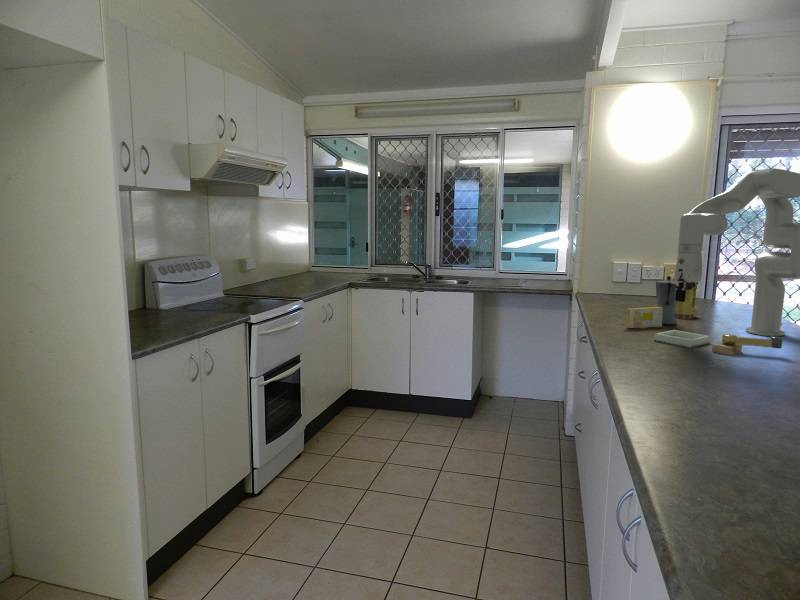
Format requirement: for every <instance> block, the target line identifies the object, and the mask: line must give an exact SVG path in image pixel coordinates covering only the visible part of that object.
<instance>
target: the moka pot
mask: <svg viewBox="0 0 800 600" xmlns="http://www.w3.org/2000/svg"><path fill="white" fill-rule="evenodd" d="M666 278H667V279H665V280H659V281H658V280H657V281H655V291H656V292H655V297H656V301H657V302H656V303H657V304H656V307H663V312H662V325H676V324H677V323H678V322H677V318H675V313H674V310H675V294H676V286H675V282H674V280H671V278H672V276H670V275H668V276H667V277H666Z"/></svg>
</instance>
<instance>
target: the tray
mask: <svg viewBox="0 0 800 600" xmlns="http://www.w3.org/2000/svg"><path fill="white" fill-rule="evenodd" d="M654 340H656V341H655V342H659V341H660V342H659V343H664V342H665V344H670V345H673V346H674V345H675V346H680V347H686V348H695V347H700V346H704V345H708V344H710V340H711V336H710V335H705V334H700V333H694V332H689V331H683V330H677V329H672V330H667V331H662V332H661V331H660V332H658V333H656V332H655V333H654ZM654 340H653V341H654Z"/></svg>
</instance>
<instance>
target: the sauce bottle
mask: <svg viewBox="0 0 800 600" xmlns="http://www.w3.org/2000/svg"><path fill="white" fill-rule="evenodd" d="M680 281H684V280H680ZM682 286H683V283H682ZM685 290H686V296H685V302H680V301H675V310H674V313H675V318H676V319H679V320H693V319H694V317H693V314H694V307H695V304H696V297H695V293H696V294H697V289H696V284H695V282H692V283H688V282H687V284H686V287H685ZM675 297H676V294H675Z"/></svg>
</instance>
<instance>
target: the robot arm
mask: <svg viewBox="0 0 800 600" xmlns="http://www.w3.org/2000/svg"><path fill="white" fill-rule="evenodd" d="M756 197H759V199H760V200H761V201H762V204H763V205H764V207H765V219H764V226H763V227H764V228H763V236H762V242H763V244H764V245H765V246H766V247H767V248H768V247H769V248H773V249H786V250H787V249H789V250H790V252H785V251H765V252H762V253H760V254H758V255H757V256H756V258H755V260H754V272H755V273H754V274H755V284H754V286H755V287H754V294H753V295H754V298H753V305H752V312H751V313H752V314H751V315H752V316H751V325H750V327H746V328H745V332H746V333H749V334H753V335H757V336H758V335H759V336H764V337H765V336H767V337H772V336H775V337H783V336H782V335H784V336H785V335H786V332H785V331H784V330H781V329H782V328H781V327H782V325H783V323H782V320H783V319H782V318H783V312H784V311H783V309H784V301H785V292H786V287H785V285H784V281H783V280H782V279H790V280H791V279H792V280H800V222H793V221H794V211H795V210H794V206H793V204H792V202H791V201H790V199H797V198H800V173H799V172H795V171H791V170H786V169H782V168H781V169H780V168H765V169H753V170H749V171H747V172H745V173H744V174H743V175H742V176H740V177H739V178H738V179H737V180H736V181H735V182H734V183H733V184H732V185H730V187H729V188H727V189H726V190H725V191H724V192H722V193H720V194H718V195H715V196H714V197H712V198H710V199H707V200H706V201H703V202H701V203H700V204H697V206H695V207H694V208H693V209H692V210H691V211H690V212H689V213H685V214H682V215H681V217H680V222H679V223H680V225H679V233H678V236H679V237H678V245H677V254H678V255H677V259H676V265H675V271H674V279H673V281H674V282H675V286H676V297H675V301H680V302H685V296H686V290H685V287H686V284H687V282H688V283H692V282H695V284H696V290H697V289H698V285H699V282H701V281H702V278H703V276H702V274H703V255H702V254H703V247H704V246H703V245H704V236H719V235H721V234H723V233H724V232H725V231H726V230H727V229H728V227H729V226H728V225H729V222H728V220H727V218H726V217H725V215H730V214H734V213H737V212H739V211H741V210H744V209H745V208H746V207H747V206H748V205H749V204H750V203H751V202H752V201H753V200H755V199H756ZM680 280H684V281H680ZM682 283H683V286H682ZM696 294H697V292H696V293H695V298H696V297H697V295H696Z"/></svg>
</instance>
